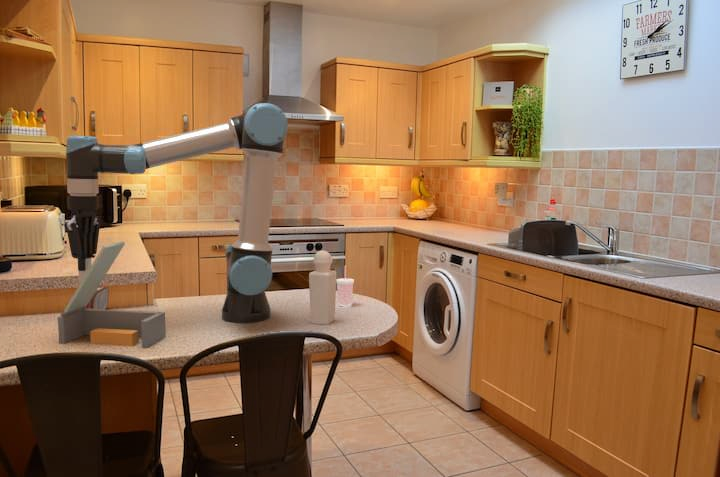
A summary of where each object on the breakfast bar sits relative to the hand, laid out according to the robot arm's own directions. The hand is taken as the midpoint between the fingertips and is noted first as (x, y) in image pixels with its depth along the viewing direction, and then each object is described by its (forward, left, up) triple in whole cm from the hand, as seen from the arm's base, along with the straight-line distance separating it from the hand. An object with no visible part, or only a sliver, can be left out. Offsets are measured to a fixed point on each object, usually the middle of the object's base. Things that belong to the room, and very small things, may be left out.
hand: (85, 282), depth 159 cm
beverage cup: (-63, -50, -16) cm, 82 cm away
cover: (-3, +1, +1) cm, 4 cm away
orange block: (-10, +3, -16) cm, 19 cm away
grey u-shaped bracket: (-8, 0, -16) cm, 17 cm away
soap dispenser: (-60, -28, -16) cm, 68 cm away
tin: (+13, -26, -16) cm, 33 cm away
